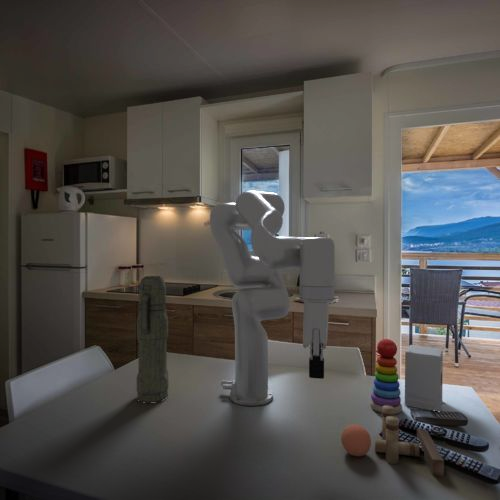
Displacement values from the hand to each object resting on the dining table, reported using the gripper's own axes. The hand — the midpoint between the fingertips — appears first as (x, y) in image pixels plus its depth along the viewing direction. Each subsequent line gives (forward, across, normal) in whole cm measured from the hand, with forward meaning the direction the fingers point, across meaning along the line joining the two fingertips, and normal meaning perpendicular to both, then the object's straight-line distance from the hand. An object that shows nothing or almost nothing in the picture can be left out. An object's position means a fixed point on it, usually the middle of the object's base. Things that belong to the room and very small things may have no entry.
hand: (316, 376), depth 79 cm
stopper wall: (+15, 0, +23) cm, 28 cm away
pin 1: (+15, -3, +15) cm, 22 cm away
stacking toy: (+15, -22, +18) cm, 32 cm away
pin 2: (+15, +2, +15) cm, 22 cm away
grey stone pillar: (+15, -16, -47) cm, 52 cm away
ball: (+12, +2, +8) cm, 15 cm away
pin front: (+14, 0, +12) cm, 19 cm away
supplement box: (+15, -28, +29) cm, 43 cm away
